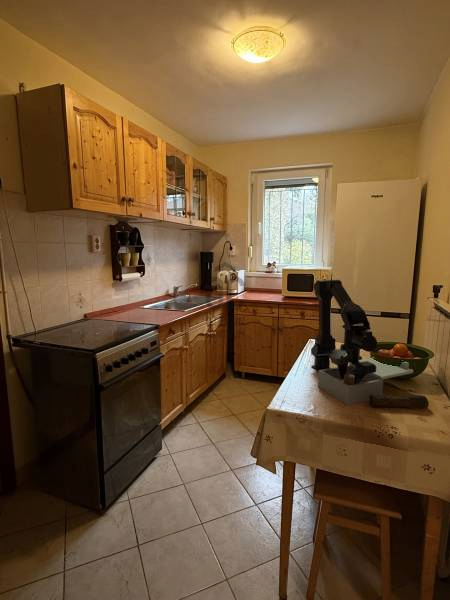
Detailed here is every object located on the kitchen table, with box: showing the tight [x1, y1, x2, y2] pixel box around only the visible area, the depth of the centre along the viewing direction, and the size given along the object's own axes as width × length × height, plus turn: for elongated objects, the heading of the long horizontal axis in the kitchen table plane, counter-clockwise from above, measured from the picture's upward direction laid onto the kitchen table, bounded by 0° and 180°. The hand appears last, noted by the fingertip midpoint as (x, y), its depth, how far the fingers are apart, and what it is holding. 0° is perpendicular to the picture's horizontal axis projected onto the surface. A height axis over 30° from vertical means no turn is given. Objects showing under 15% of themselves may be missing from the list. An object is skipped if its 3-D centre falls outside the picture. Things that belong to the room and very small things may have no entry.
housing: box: [317, 364, 384, 406], centre depth 119 cm, size 16×16×6 cm
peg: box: [344, 374, 355, 386], centre depth 119 cm, size 4×4×6 cm
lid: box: [348, 357, 414, 380], centre depth 124 cm, size 16×16×3 cm
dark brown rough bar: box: [368, 394, 430, 410], centre depth 108 cm, size 19×4×5 cm, turn 83°
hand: (349, 382), depth 119 cm, fingers open, 7 cm apart
